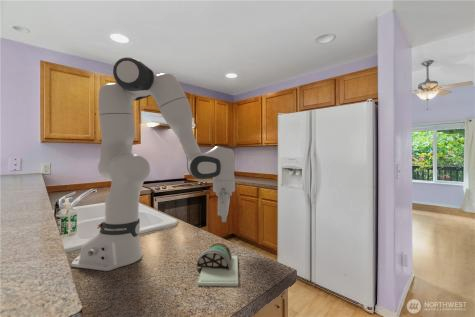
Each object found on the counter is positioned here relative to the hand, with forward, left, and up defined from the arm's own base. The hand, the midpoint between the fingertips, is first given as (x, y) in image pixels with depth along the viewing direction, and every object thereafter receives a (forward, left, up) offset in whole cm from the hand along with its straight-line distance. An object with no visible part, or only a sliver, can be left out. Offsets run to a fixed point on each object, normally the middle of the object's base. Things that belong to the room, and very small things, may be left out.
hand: (224, 221), depth 90 cm
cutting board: (-1, -14, -13) cm, 19 cm away
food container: (-1, -5, -9) cm, 10 cm away
